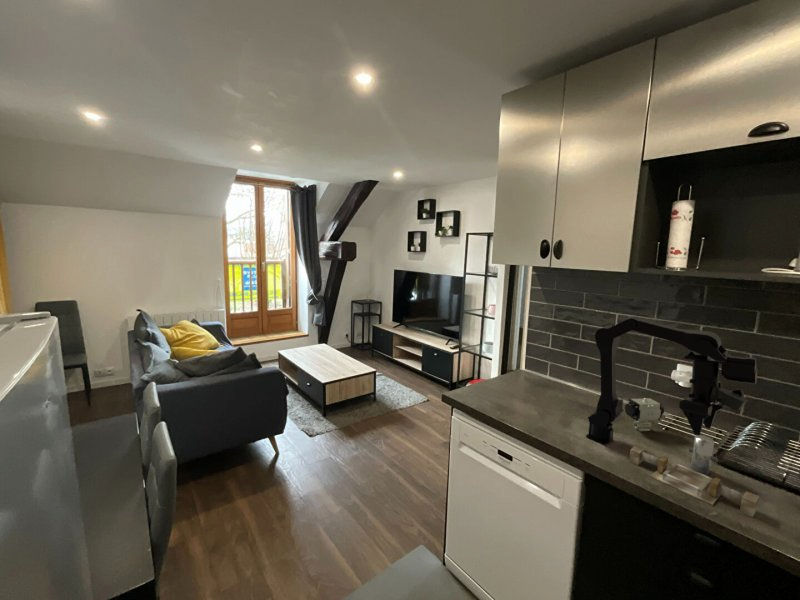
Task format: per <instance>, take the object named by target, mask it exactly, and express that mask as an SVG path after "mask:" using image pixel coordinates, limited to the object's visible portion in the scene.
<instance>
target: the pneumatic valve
mask: <svg viewBox="0 0 800 600" xmlns="http://www.w3.org/2000/svg"><path fill="white" fill-rule="evenodd" d="M624 411H625V414H626V415H627V416H628V417H630V418H632V420H634V421H633V422H632V423H633V428H635V429H636V430H638V431H639V432H651V428H652V422H650V421H660V420H661V418H662V416H663V415H664V413H665V408H664V406H663V404H662V402H660V401H657V400H656V399H654V398H653V397H651V398H647V397H643V398H629V399H628V401H627V403H625V405H624Z"/></svg>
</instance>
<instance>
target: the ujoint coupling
mask: <svg viewBox="0 0 800 600" xmlns="http://www.w3.org/2000/svg"><path fill="white" fill-rule="evenodd" d="M714 446H715V440H714V439H713V438H711V437H709V436H706V435H703V434H700V435H699V436H698V435H695V436H694V442H693V447H690V448H689V450H688V452H690V453H691V454H692V456H691V462H690V469H691V470H694V471H696V472H699V473H701V474H703V475H706V476H708V475H710V474H709V473H710V472H711V466H712V462H715V463H716V462H718V461H719V459H718V457H716V456H713V453H714Z"/></svg>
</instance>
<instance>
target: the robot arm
mask: <svg viewBox="0 0 800 600" xmlns="http://www.w3.org/2000/svg"><path fill="white" fill-rule="evenodd" d="M631 331H632V332H636V333H641V334H644V335H648V336H652V337H654V338H659V339H661V340H665V341H669V342H673V343H676V344H677V345H681V346H682V347H684V348H685V349H687V350H689V351H690V352H689V353H688V354H687V355H684V357H683V358H684V359H685V360H689V361H690V360H691V361H692V370H691V372H692V373H691V378H690V379H689V384H691V390H690V391H691V392H690V393H688V397H686V398H684V399H681V400H680V401H679V407H678V408H679V410H681V412H682V413H683V415H684V417H685V418H686V420H687V422H688V425H689V426H690V428H691V430H692V432H693V434H694V435H695V436H696V435H698V436H699V435H701V432H702V429H703V426H704V427H705V428H706V429H709V430H710V429H711V428H712V425H713V422H714V420H715V418H716V415H717V412H718V411H719V410H722V409H723V408H725V407H726V406H727V408H730V409H731V410H733V411H735V412H739V411H740V410H742V408H744V406H745V404H746V402H747V400H748V399H747V397H746V396H745V393H744V390H742V389H740V388H735V389H733V390H731V389H726V388H724V387H723V382H721V381H720V380H719V379H720V374H721V376H722V377H723V378H724V379H726V380H727V381H730V382H737V383H743V384H748V385H749V384H750V385H756V384H757V380H758V368H757V358H756V357H742V356H736V355H735V356H734V355H731V353H730V352H729V351H728V350H727V349H726V348H725V347H724V346H723V345H722V339H721V338H720V336H719V335H718V334H717V333H716V332H712V331H710V330H709V331H708V330H707V331H706V330H697V329H683V328H679V327H678V328H677V327H675V326H670V325H666V324H662V323H659V322H654V321H651V320H646V319H643V318H639V317H637V316H630V317H628V318H626V319H624V320H623V321H621V322H618V323H616V324H615V325H607V326H604V327H601V328H599V329H596V331H595V332H594V340H595V344H596V345H595V346H596V348H597V349H598V351H599V355H600V356H599V359H600V361H599V363H600V369H599V370H600V396H599V398H598V401H597V404H596V409H595V411H594V412H593V413H591V414H590V415H589V416H588V417H587V419H588V422H589V425H588V433H587V434H585V438H588V439H589V440H592V441H595V442H597V443H598V444H601V445H603V446H605V445H607V444H609V443H610V442H612V441H613V440H614V431H615V430H614V428H613V425H614V424H613V422H615V420H616V419H618V418H619V417H620V416H621V414H622V413H623V412H624V411H625V409H624V407H623V403H624V400H623V399H620V398H619V397H618V396H617V376H616V371H617V370H616V368H617V366H616V364H617V363H616V360H617V359H616V354H617V350H618V347H619V344H620V341H621V336H622V335H624V334H626V333H629V332H631ZM720 364H721V371H720ZM720 372H721V373H720Z"/></svg>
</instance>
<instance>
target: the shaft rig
mask: <svg viewBox="0 0 800 600" xmlns="http://www.w3.org/2000/svg"><path fill="white" fill-rule="evenodd" d="M629 450H630V451H629V459H628V460H629V463H631V464H634V465H637V466H639V465H640V464H641V463H642V462H646V463H648V464H651V465H653V466H656V467H657V470H655V472H653V473H652V474H651V475H650V478H653V479H655V480H657V481H659V482H661V483H663V484H665V485H667V486H669V487H672V488H674V489H676V490H678V491H681V492H683V493H685V494H687V495H689V496H691V497H693V498H695V499H698V500H700V501H702V502H704V503H706V504H708V505H710V506H714V504H715V503H716V502H717V500H718V499H719V498H720V497H721V496H724V497H725V498H727V499H730V500H733V501H735V502H737V503H739V504H740V508H739V512H740V513H742V514H745V515H746V516H749V517H751V518H754V516H755V515H756V513H757V510H758V506H759V501H760V496H759V495H757V494H754V493H752V492H749V491H745V493H742V492H740V491H738V490H736V489H732V488H730V487H728V486H726V485H723V484H721V483H722V479H721V478H718V477H716V476H715V477H714V478H713V477H710V476H708V475H705V474H701V473H699V472H696V471H694V470H692V469H691V468H688V467H687V466H685V465H684V466H683V465H682V464H679V463H677V462H674V463H673V464H671V465H668V463H669V457H667V456H666V455H663V456H662V457H660V458H659V457H657V456H655V455H653V454H649V453H647V452H645V451H646V450H645V448H644V447H641V446H639V445H634V446H633V447H632V448H631V449H629Z"/></svg>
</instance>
